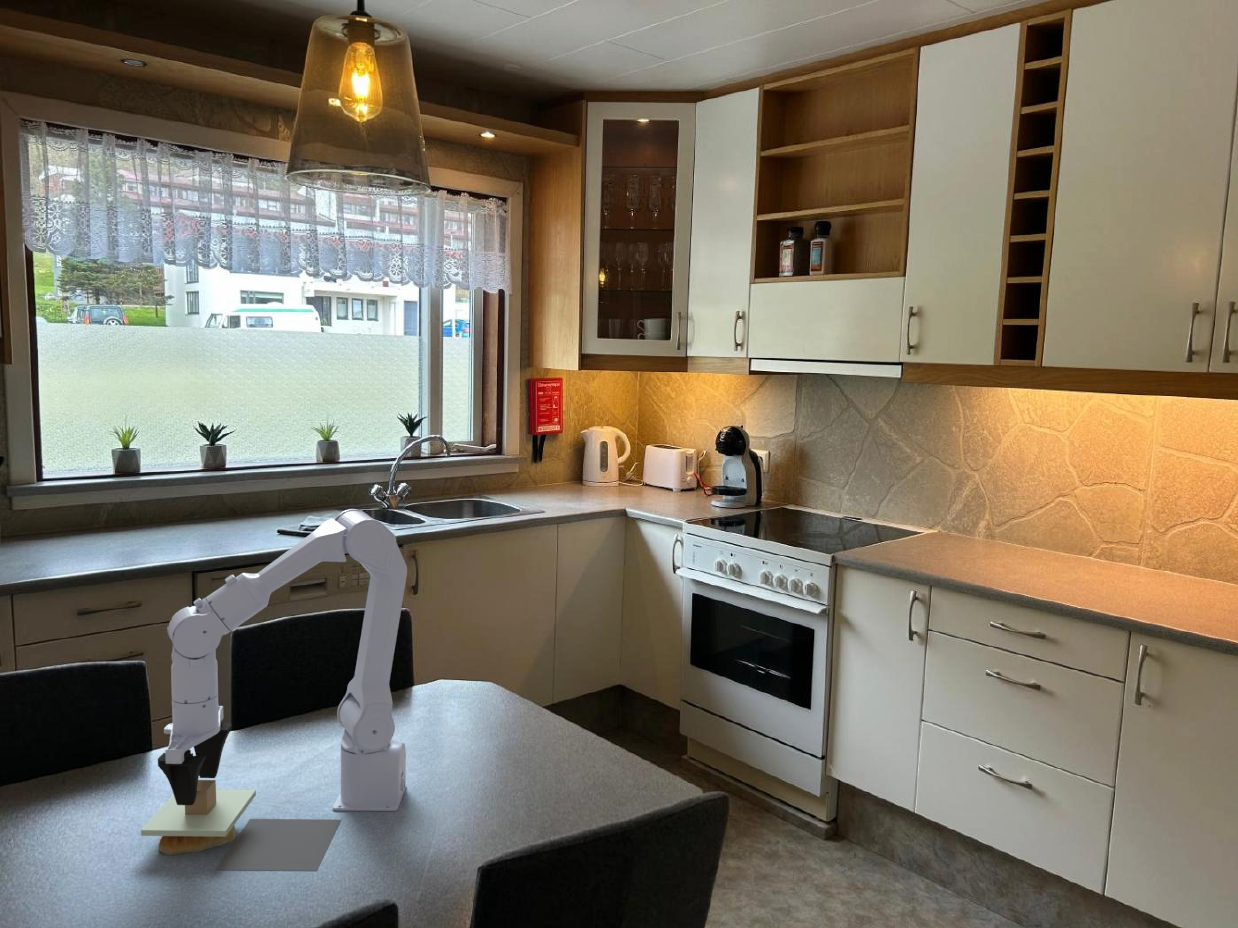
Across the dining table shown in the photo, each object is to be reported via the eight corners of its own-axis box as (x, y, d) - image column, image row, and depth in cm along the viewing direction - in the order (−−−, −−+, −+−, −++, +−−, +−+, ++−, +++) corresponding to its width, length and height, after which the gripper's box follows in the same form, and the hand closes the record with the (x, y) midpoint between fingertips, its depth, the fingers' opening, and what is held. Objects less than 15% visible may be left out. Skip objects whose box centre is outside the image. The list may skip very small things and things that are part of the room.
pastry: (167, 867, 120) (167, 839, 119) (152, 845, 125) (151, 819, 124) (240, 842, 126) (239, 816, 126) (222, 823, 131) (222, 798, 131)
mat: (341, 820, 132) (341, 819, 132) (316, 871, 119) (316, 870, 119) (250, 819, 132) (250, 818, 132) (215, 871, 119) (215, 869, 119)
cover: (255, 794, 132) (255, 766, 131) (225, 836, 121) (224, 806, 120) (178, 793, 131) (177, 765, 131) (141, 835, 120) (139, 805, 120)
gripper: (187, 675, 131) (189, 765, 133) (140, 716, 117) (143, 816, 119) (237, 676, 132) (238, 766, 133) (196, 717, 117) (198, 817, 119)
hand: (197, 790), depth 126 cm, fingers open, 7 cm apart
